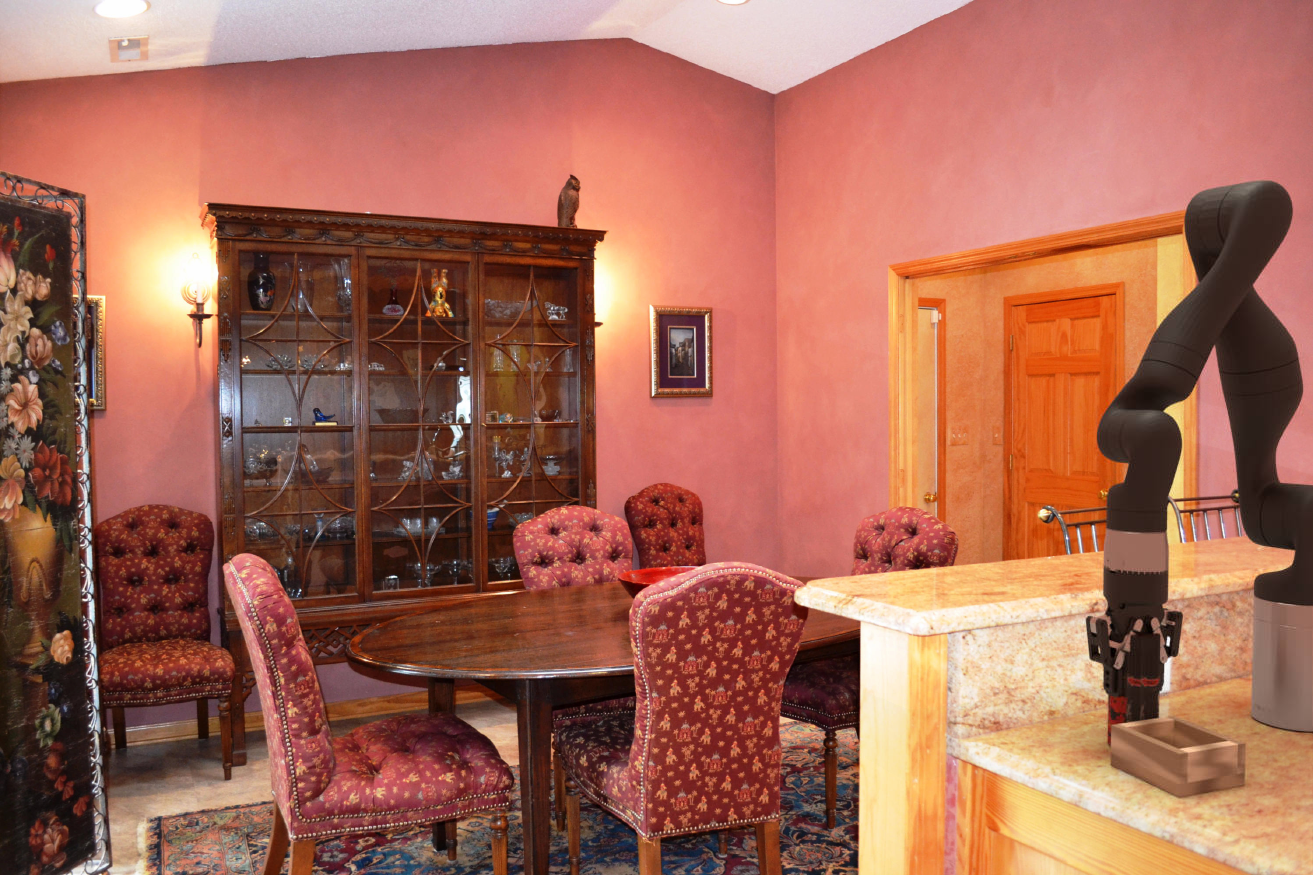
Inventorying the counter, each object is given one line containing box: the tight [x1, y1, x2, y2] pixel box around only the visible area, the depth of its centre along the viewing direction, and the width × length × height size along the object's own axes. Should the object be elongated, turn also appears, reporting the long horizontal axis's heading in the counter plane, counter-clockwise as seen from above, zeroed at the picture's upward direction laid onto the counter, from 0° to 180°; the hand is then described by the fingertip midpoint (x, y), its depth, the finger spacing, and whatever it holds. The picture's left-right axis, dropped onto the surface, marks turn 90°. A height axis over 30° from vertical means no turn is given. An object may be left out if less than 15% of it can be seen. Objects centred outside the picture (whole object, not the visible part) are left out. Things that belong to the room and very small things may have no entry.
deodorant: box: [1107, 632, 1161, 748], centre depth 123 cm, size 6×6×15 cm
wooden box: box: [1110, 715, 1247, 798], centre depth 113 cm, size 10×10×5 cm
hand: (1133, 692), depth 122 cm, fingers closed on deodorant, 6 cm apart
